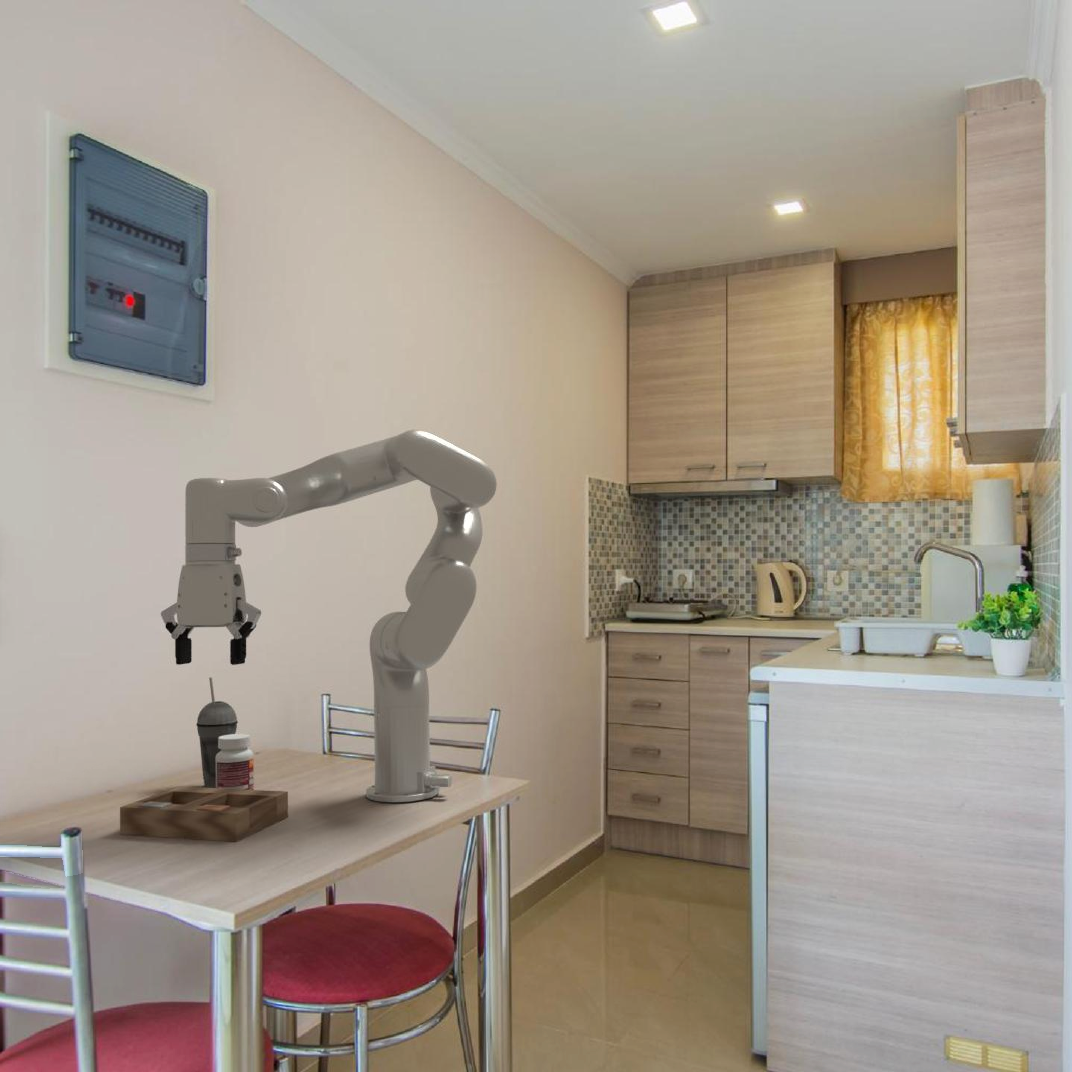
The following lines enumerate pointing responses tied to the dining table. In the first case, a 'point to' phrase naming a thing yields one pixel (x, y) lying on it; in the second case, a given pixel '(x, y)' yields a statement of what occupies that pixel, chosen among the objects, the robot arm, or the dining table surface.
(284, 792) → the socket board
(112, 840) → the dining table surface
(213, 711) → the beverage cup
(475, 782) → the dining table surface
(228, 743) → the pill bottle
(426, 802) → the dining table surface
